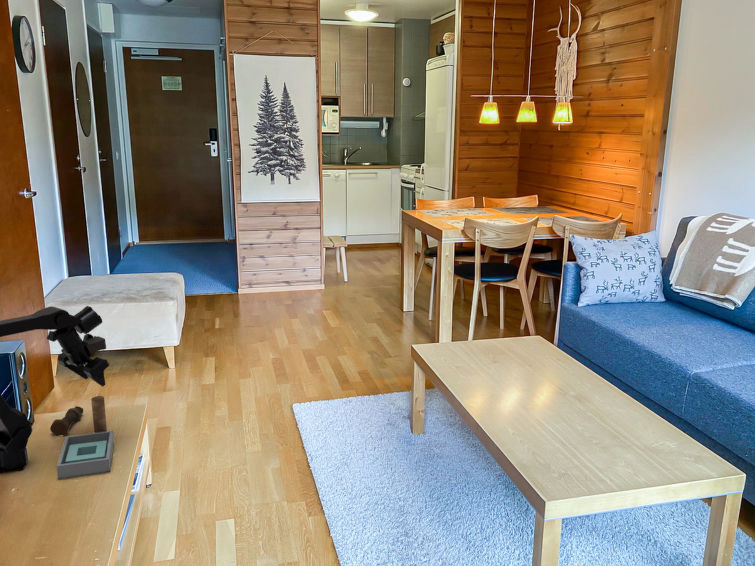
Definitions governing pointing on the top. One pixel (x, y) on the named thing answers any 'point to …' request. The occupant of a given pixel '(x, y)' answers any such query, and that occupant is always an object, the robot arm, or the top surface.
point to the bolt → (66, 421)
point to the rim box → (86, 455)
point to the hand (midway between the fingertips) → (95, 381)
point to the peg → (99, 414)
